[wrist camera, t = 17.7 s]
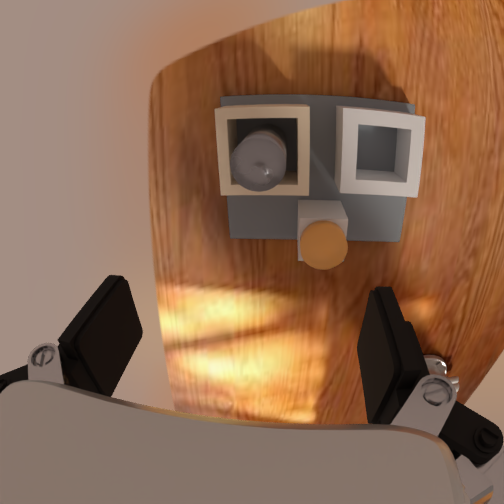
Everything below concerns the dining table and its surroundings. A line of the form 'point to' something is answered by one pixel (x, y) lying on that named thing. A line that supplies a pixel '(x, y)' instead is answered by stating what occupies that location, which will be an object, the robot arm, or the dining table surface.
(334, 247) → the button
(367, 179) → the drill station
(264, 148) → the grey rounded cylinder
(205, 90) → the dining table surface
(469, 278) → the dining table surface
